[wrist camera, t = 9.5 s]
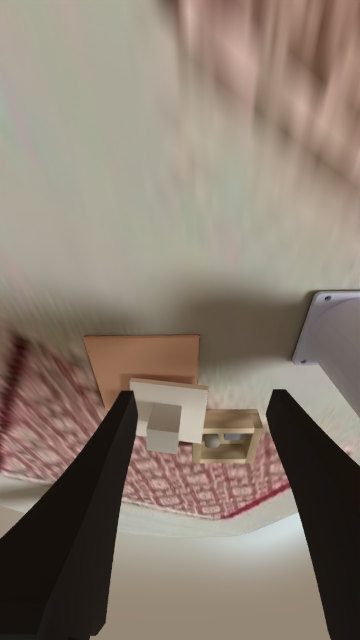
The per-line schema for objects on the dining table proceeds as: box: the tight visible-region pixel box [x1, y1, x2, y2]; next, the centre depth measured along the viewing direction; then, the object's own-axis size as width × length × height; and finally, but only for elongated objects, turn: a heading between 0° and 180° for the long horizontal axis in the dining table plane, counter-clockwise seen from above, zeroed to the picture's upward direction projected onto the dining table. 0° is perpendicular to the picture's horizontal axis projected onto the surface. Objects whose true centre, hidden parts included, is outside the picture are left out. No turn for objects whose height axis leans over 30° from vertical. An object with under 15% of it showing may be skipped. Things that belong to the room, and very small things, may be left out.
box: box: [192, 410, 263, 463], centre depth 28 cm, size 8×8×2 cm
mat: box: [83, 335, 199, 411], centre depth 24 cm, size 11×11×1 cm
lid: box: [130, 378, 208, 454], centre depth 23 cm, size 8×8×5 cm
